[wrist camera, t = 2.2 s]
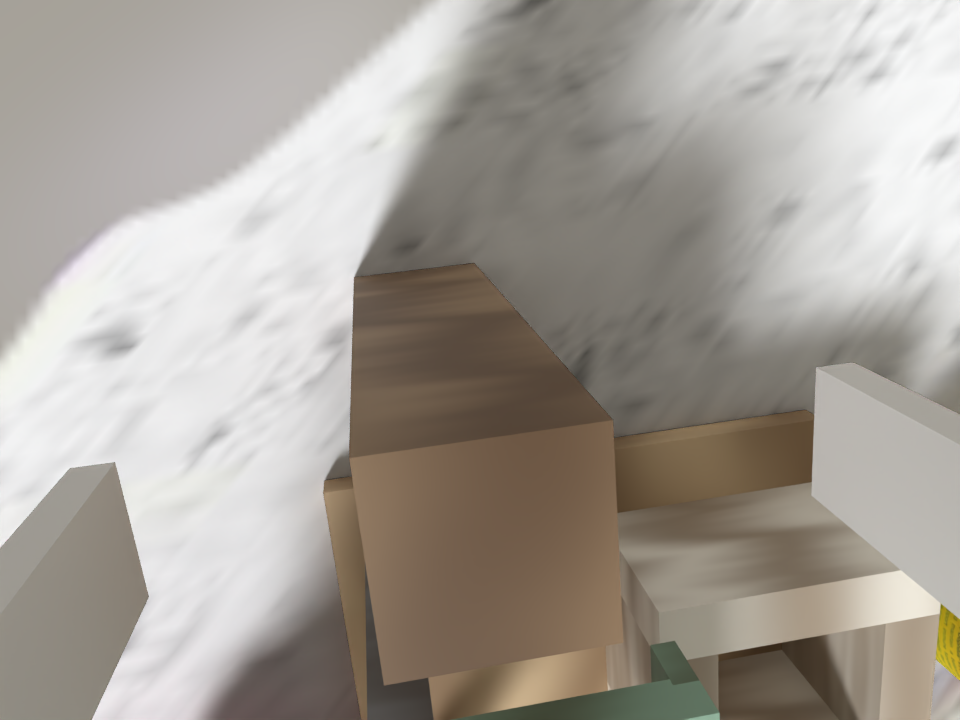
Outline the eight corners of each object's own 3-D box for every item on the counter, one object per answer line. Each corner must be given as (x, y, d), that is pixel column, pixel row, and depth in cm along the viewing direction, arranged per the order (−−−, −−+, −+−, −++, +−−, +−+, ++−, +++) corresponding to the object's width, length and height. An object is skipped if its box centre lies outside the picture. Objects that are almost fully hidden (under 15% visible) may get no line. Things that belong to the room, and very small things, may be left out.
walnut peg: (370, 392, 27) (384, 685, 13) (354, 277, 26) (349, 458, 11) (485, 376, 27) (623, 642, 13) (474, 263, 26) (612, 420, 12)
